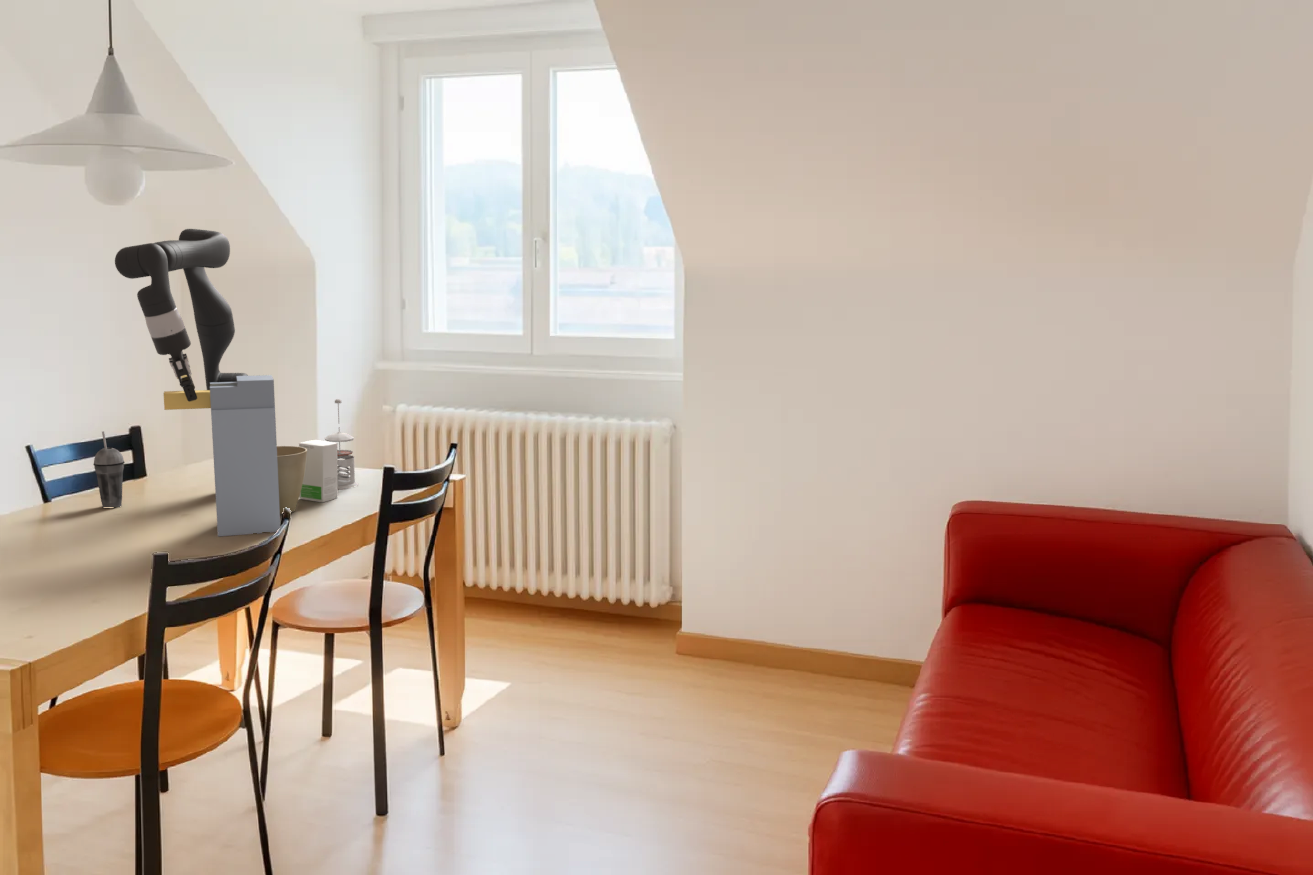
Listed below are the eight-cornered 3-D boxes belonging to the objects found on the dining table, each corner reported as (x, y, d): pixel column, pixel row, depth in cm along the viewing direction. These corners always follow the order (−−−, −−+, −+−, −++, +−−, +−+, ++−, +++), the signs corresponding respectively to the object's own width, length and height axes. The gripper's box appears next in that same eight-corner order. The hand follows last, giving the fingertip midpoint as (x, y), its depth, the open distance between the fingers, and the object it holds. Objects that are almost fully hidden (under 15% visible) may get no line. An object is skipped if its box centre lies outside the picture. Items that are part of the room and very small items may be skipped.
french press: (353, 489, 311) (350, 401, 307) (312, 488, 311) (308, 400, 307) (362, 482, 321) (360, 396, 317) (323, 481, 321) (320, 396, 317)
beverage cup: (134, 504, 289) (128, 429, 286) (112, 511, 282) (106, 434, 279) (112, 502, 291) (106, 427, 288) (89, 508, 285) (84, 432, 281)
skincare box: (298, 499, 298) (296, 442, 295) (315, 494, 304) (312, 439, 301) (324, 502, 295) (322, 445, 292) (340, 497, 301) (338, 441, 298)
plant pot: (292, 502, 295) (290, 443, 292) (319, 512, 284) (317, 451, 282) (238, 510, 285) (235, 450, 282) (264, 521, 274) (261, 458, 271)
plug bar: (164, 409, 254) (163, 393, 254) (165, 407, 258) (164, 391, 257) (274, 405, 263) (273, 390, 262) (273, 403, 267) (272, 388, 266)
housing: (217, 536, 260) (209, 382, 254) (217, 525, 270) (209, 376, 264) (280, 531, 265) (273, 380, 259) (278, 520, 275) (271, 374, 269)
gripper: (186, 333, 247) (210, 398, 253) (182, 318, 259) (206, 382, 266) (151, 342, 244) (176, 409, 251) (149, 327, 256) (173, 391, 263)
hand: (191, 395), depth 258 cm, fingers open, 8 cm apart
